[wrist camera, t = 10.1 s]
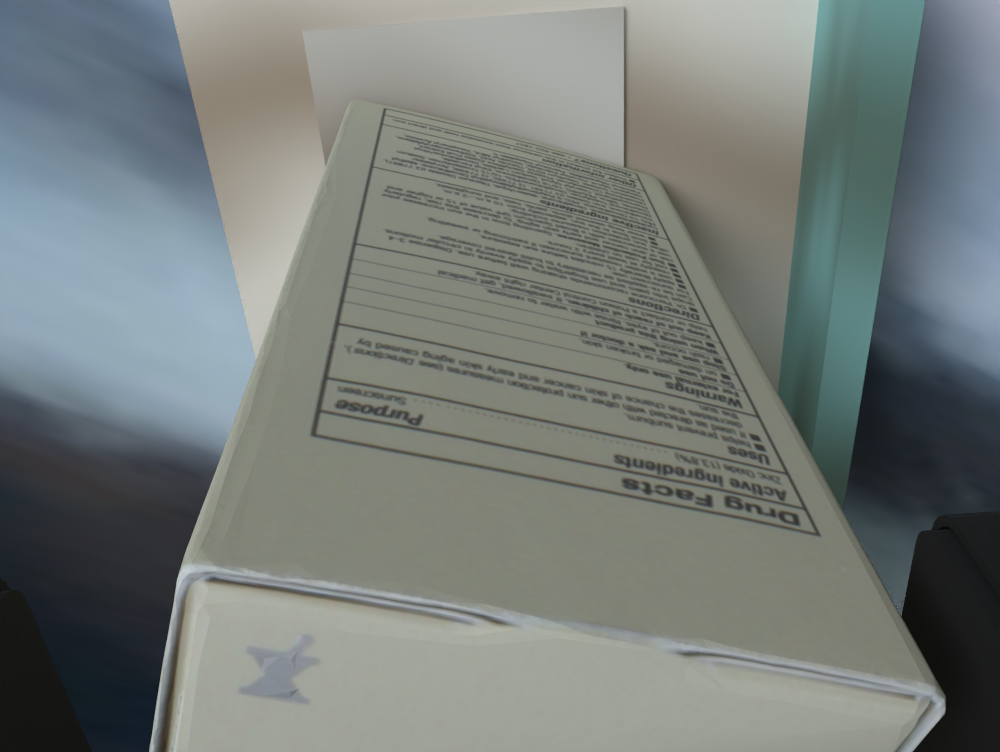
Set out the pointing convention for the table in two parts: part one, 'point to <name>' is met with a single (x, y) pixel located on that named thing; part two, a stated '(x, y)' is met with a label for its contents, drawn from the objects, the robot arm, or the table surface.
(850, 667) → the skincare box
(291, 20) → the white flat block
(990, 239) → the table surface
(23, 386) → the table surface
